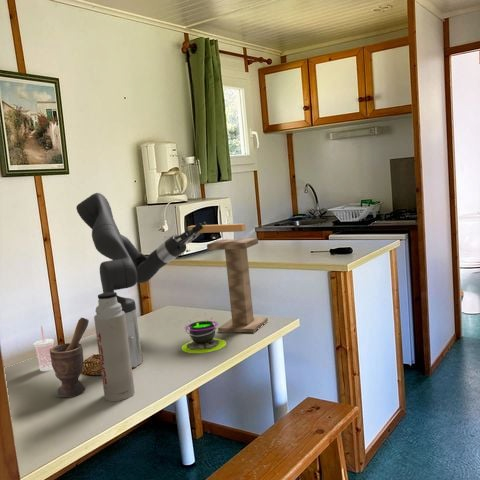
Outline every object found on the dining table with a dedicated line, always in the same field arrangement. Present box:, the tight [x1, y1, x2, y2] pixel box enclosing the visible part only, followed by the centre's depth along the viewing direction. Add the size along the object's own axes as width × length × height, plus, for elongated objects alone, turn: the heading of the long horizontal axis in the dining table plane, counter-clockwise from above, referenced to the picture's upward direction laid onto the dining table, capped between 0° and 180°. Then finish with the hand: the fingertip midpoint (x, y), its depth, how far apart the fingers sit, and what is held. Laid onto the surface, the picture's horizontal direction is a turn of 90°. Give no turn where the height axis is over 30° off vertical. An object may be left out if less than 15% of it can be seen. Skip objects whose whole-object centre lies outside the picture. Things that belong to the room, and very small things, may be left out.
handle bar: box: [187, 223, 247, 234], centre depth 197 cm, size 22×3×2 cm, turn 67°
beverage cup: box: [33, 325, 55, 372], centre depth 172 cm, size 6×6×14 cm
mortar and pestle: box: [50, 317, 89, 398], centre depth 150 cm, size 12×9×20 cm
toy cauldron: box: [181, 312, 227, 354], centre depth 180 cm, size 15×15×11 cm
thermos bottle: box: [93, 291, 136, 402], centre depth 143 cm, size 8×8×28 cm
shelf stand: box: [206, 237, 269, 333], centre depth 197 cm, size 16×14×32 cm
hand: (203, 224), depth 199 cm, fingers closed on handle bar, 3 cm apart
